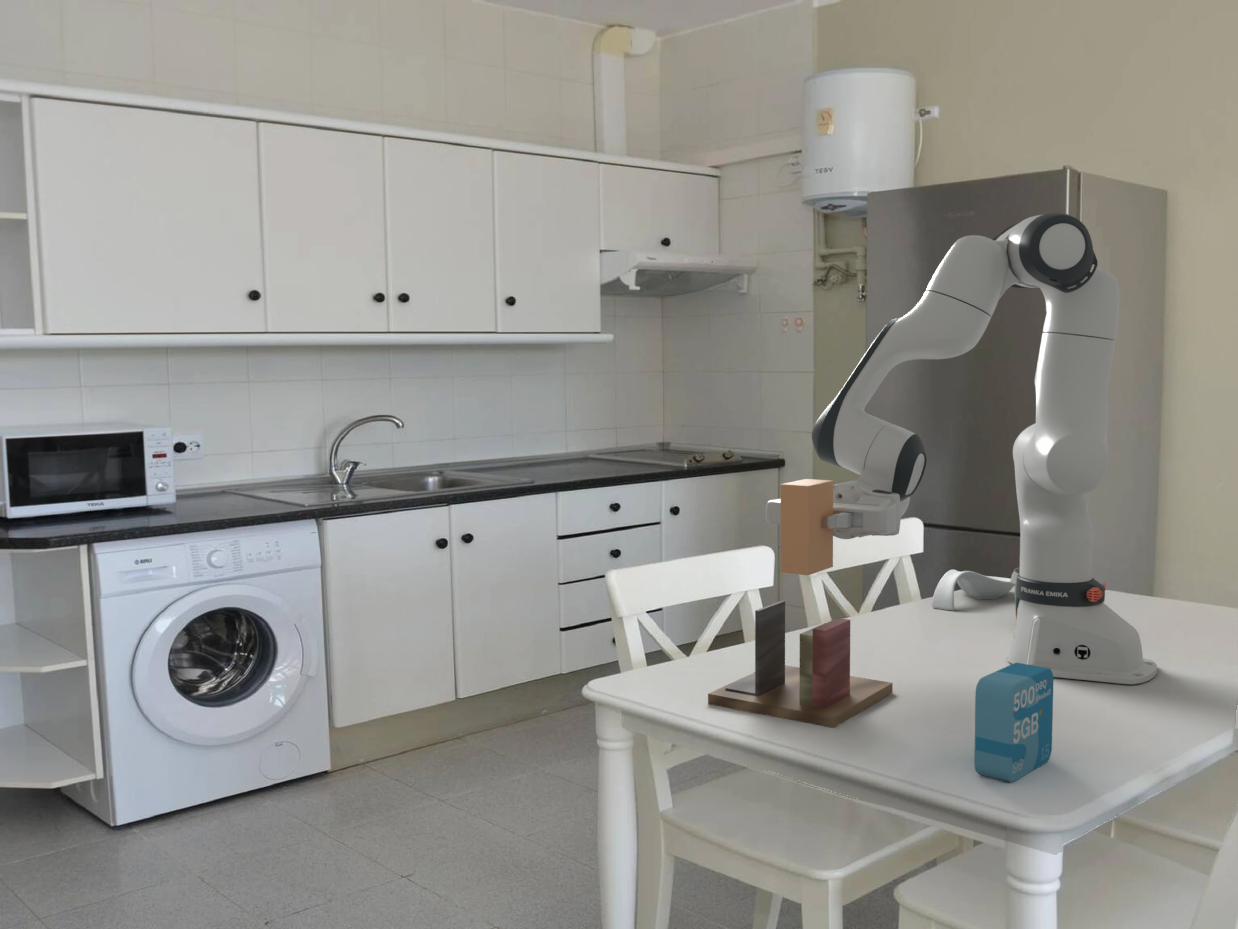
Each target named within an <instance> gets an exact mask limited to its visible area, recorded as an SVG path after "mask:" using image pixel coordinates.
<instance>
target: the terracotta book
mask: <svg viewBox="0 0 1238 929" xmlns="http://www.w3.org/2000/svg"><path fill="white" fill-rule="evenodd" d="M833 485H834V480H831V479H830V480H829V479H818V478H817V479H816V478H815V479H814V478H813V479H812V478H804V479H799V480H794V481H789V482H785V483H780V499H781V525H780V573H785V574H792V575H793V574H794V575H801V576H810V575H813V574H816V573H820V572H822V571H825V570H829V569H831V568H833V567H834V536H833V528H832V529H829V528H822V526H821V524H822V521H821V519H822V516H825V515H833Z"/></svg>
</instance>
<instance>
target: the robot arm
mask: <svg viewBox="0 0 1238 929" xmlns="http://www.w3.org/2000/svg"><path fill="white" fill-rule="evenodd" d="M1098 265H1099V264H1098V259H1097V256H1096V253H1095V251H1094V246H1093V241H1092V237H1091V234H1090V232H1089V230H1088V229H1087V227H1086V225H1085V224H1084V223H1083V222H1082V221H1081V220H1080V219H1078V218H1077V217H1075V216H1073V215H1070V214H1068V213H1063V212H1049V213H1043V214H1038V215H1033V216H1030V217H1027V218H1025V219H1023V220H1021V221H1020V222H1018V223H1015V224H1013V225H1011V226H1009V227H1007V228H1005V229H1004V230H1003V231H1002V232H1000V233H999V234H997V235H996V236H995V237H994V238H993V239H992V238H989V237H987V236H985V235H984V236H983V235H977V234H976V235H975V234H971V235H965V236H962V237H960V238H958V239H957V240H956V241H955V242H953V244H952V245H951V247H950V248H949V249H948V251H947V252H946V254H945V255H944V257H942V259H941V261H940V263H939V265H938V266H937V268H936V270H935V271H934V273H933V274H932V277H931V278H930V280H929V282H928V284H927V287H926V289H925V291H924V293H923V295H922V297H921V299H919V301H918V302H917V304H915V306H914V307H913V308H912V309H911V310H909V311H908V312H907V313H906V314H905V315H903V316H901V317H895V318H894V317H893V319H891V320H890V321H889V322H888V323H887V324H886V325H884V327H883V328H882V330H881V331H880V332H879V333H878V334H877V336H876V337H875V339H874V340H873V341H872V343H871V344H870V346H869V348H868V349H867V350H866V352H865V353H864V355H863V356H862V357H861V359H860V361H859V362H858V364H857V365H856V367H854V369H853V371H852V373H851V374H850V376H849V377H848V378H847V380H846V382H845V383H844V385H843V386H842V388H841V389H840V390H839V391H838V393H837V395H836V396H835V397H834V398H833V400H831V402H830V403H829V404H828V405H827V407H826V408H825V409H824V410H823V411H822V413H821V414H820V416H819V417H818V418H817V419H816V422H815V424H814V426H813V428H812V432H811V441H812V445H813V448H814V450H815V452H816V454H817V456H818V458H819V459H820V461H822V462H825V463H827V464H831V465H833V466H836V467H839V468H843V469H846V470H847V471H848V470H849V471H850V472H853V473H854V474H857V475H858V476H859V477H858V478H857V479H853V480H848V481H844V482H839V483H835V484H833V515H825V516H822V519H821V521H822V524H821V526H822V528H829V529H832V528H833V537H834V538H837V539H841V540H852V539H854V538H864V537H868V536H872V537H873V536H876V537H877V536H885V537H886V536H887V537H889V536H891V537H892V536H896V535H899V533H900V530H901V518H902V517H903V516H904V514H905V513H906V512H907V510H908V508H909V505H910V501H911V496H913V494H914V493H915V492H916V490H917V488H918V486H919V485H920V483H921V481H922V478H923V477H924V475H925V474H924V473H925V470H926V467H927V453H926V449H925V445H924V443H923V440H922V438H921V436H920V435H919V434H917V433H916V432H913V431H911V430H908V429H907V428H904V427H902V426H899V425H897V424H895V423H891V422H889V421H886V420H884V419H881V418H879V417H877V416H875V415H872V414H871V413H867V412H866V411H865V408H866V407H867V405H868V403H869V402H870V401H871V399H872V397H873V396H874V394H875V393H876V392H877V390H878V388H879V387H880V385H881V384H882V382H883V381H884V380H885V378H886V377H887V375H888V374H889V372H890V371H891V370H892V369H893V368H894V367H896V366H897V365H899V364H901V363H904V362H908V361H913V360H945V359H947V360H948V359H952V358H955V357H959V356H962V355H964V354H966V353H968V352H970V351H971V350H972V349H973V348H975V347H976V346H977V344H978V343H979V341H980V340H981V338H982V337H983V335H984V334H985V332H986V330H987V328H988V325H989V323H990V321H991V319H992V317H993V315H994V313H995V310H996V308H997V306H998V303H999V300H1000V299H1001V298H1002V296H1003V295H1004V294H1005V293H1006V292H1007V290H1008V289H1010V287H1012V288H1018V289H1029V288H1032V289H1033V288H1034V289H1035V288H1036V289H1040V291H1041V292H1042V295H1043V298H1044V300H1045V302H1044V303H1045V312H1046V313H1045V319H1044V322H1043V328H1042V333H1041V340H1040V345H1039V351H1038V357H1037V364H1036V369H1035V375H1034V388H1035V423H1033V424H1031V425H1029V426H1027V427H1026V428H1024V429H1023V430H1022V431H1021V432H1020V433H1019V435H1018V436H1017V438H1016V439H1015V441H1014V443H1013V446H1012V459H1013V465H1014V479H1015V480H1014V481H1015V490H1016V491H1015V492H1016V499H1017V507H1018V508H1017V509H1018V515H1019V530H1020V531H1019V533H1020V537H1019V567H1020V573H1019V574H1018V575H1017V581H1016V588H1015V590H1014V602H1015V601H1016V608H1018V609H1017V618H1016V617H1015V624H1014V632H1013V636H1012V640H1011V641H1012V642H1011V645H1010V648H1009V651H1008V654H1007V656H1006V660H1007V662H1009V663H1010V664H1011V665H1012V664H1014V663H1022V664H1027V665H1033V666H1039V667H1044V668H1049V669H1051V671H1052V673H1053V678H1062V679H1072V680H1083V681H1090V682H1091V681H1093V682H1101V683H1111V684H1113V683H1114V684H1121V685H1136V684H1142V683H1146V682H1148V681H1150V680H1152V679H1153V678H1154V677H1156V675H1157V674H1158V665H1157V663H1156V662H1155V661H1154V660H1152V659H1149V658H1145V657H1143V648H1142V642H1141V637H1140V635H1139V632H1138V631H1137V629H1136V628H1135V627H1134V626H1133V625H1131V624H1130V623H1129V622H1127V620H1125V619H1124V618H1123V617H1122V616H1121V615H1119V614H1118V613H1117V612H1115V610H1113V609H1112V608H1110V607H1109V605H1107V604H1105V601H1106V600H1105V599H1106V590H1107V588H1106V587H1107V583H1106V582H1104V583H1100V582H1099V581H1098V580H1096V579H1095V578H1094V577H1093V561H1094V560H1093V559H1094V558H1093V555H1094V553H1093V552H1094V549H1093V548H1094V529H1093V524H1092V522H1091V518H1090V513H1089V512H1090V511H1089V507H1088V506H1089V505H1088V501H1087V494H1088V493H1090V492H1092V491H1094V490H1096V489H1097V488H1098V487H1099V486H1101V485H1102V484H1103V483H1104V481H1105V480H1106V478H1107V476H1108V474H1109V471H1110V464H1111V462H1110V461H1111V460H1110V455H1109V452H1108V429H1109V428H1108V425H1109V424H1108V421H1109V420H1108V397H1109V395H1108V394H1109V386H1110V380H1111V373H1112V372H1111V371H1112V368H1113V367H1112V366H1113V361H1114V354H1115V351H1116V350H1115V349H1116V344H1117V342H1116V341H1117V336H1118V331H1119V321H1120V285H1119V282H1118V280H1117V278H1116V276H1115V275H1114V274H1112V273H1111V272H1110V271H1108V270H1106V269H1104V268H1102V267H1099V266H1098ZM765 519H766V522H767V523H768V524H771V525H780V526H781V498H775V499H769V500H768V501H767V502H766V504H765ZM1016 608H1015V609H1016Z"/></svg>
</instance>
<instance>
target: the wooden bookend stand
mask: <svg viewBox="0 0 1238 929" xmlns="http://www.w3.org/2000/svg"><path fill="white" fill-rule="evenodd" d="M754 617H755V618H754V620H755V621H754V622H755V623H754V626H755V628H754V631H755V632H754V634H755V635H754V638H755V639H754V641H755V642H754V644H755V645H754V646H755V647H754V649H755V650H754V651H755V653H754V661H755V662H754V663H755V664H754V666H755V667H754V668H755V669H754V672H753V673H750V674H748V675H746V676H744V677H741V678H739V679H737V680H735V681H733V682H731V683H728V684H726V685H724V686H722V687H720V688H717V689H715V690H713V691H711V692H709V693H707V704H708V705H714V706H718V707H724V708H728V709H733V710H739V711H744V712H749V713H755V714H759V715H765V716H770V717H776V718H781V719H785V720H791V721H797V722H802V723H808V724H811V725H812V724H813V725H817V726H822V727H828V728H834V729H835V728H836V727H838V726H840V725H841V724H843V723H844V722H846V721H848V720H849V719H851V718H853V717H855V716H856V715H857V714H859V713H861V712H862V711H864V710H866V709H868V708H870V707H871V706H873V705H875V704H876V703H878V702H879V701H881V700H883V699H884V698H886V697H888V696H889V695H891V694H892V693H893V682H890V681H889V682H888V681H883V680H878V679H871V678H864V677H858V676H851V619H849V618H841V617H840V618H839V617H836V618H834V619H832V620H830V621H827V622H824V623H821V624H820V625H817V626H816V627H813V628H811V629H808V630H806V631H804V632H802V633H799V667H797V666H793V665H791V666H790V665H787V664H786V600H779V601H776V602H774V603H772V604H769V605H766V606H764V607H760V608H758V609H755V612H754Z"/></svg>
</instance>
